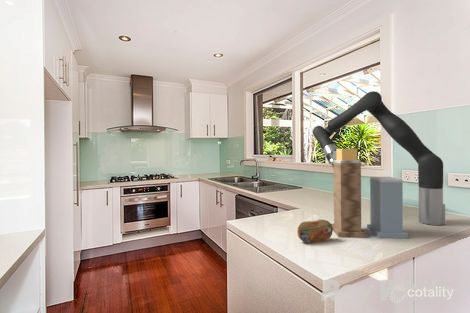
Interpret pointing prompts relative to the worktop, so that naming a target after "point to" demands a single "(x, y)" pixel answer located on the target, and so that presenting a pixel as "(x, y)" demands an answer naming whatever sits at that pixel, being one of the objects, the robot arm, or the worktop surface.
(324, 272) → the worktop surface
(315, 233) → the tin
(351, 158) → the block
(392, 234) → the grey block stand
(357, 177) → the post
